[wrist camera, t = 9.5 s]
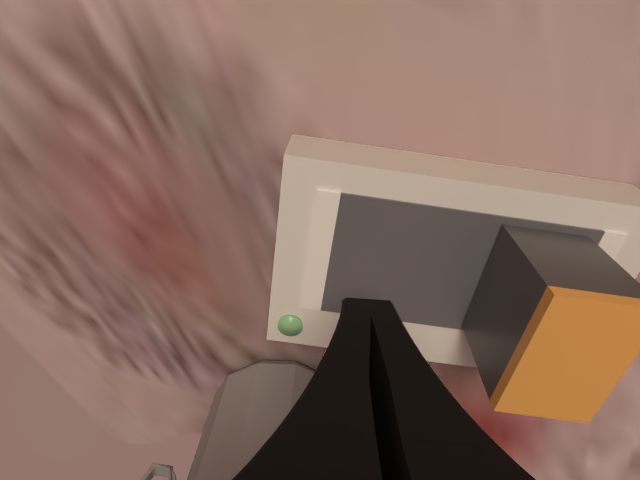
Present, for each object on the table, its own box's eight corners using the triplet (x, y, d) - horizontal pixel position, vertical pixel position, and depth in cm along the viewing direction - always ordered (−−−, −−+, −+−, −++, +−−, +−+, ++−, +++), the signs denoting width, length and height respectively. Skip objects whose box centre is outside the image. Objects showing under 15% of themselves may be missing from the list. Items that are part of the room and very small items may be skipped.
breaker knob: (589, 236, 14) (669, 310, 10) (536, 335, 16) (588, 423, 13) (502, 224, 14) (554, 295, 10) (461, 325, 16) (493, 410, 13)
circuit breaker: (630, 183, 16) (681, 214, 13) (545, 339, 20) (572, 383, 17) (292, 133, 15) (283, 156, 13) (275, 301, 19) (265, 342, 17)
